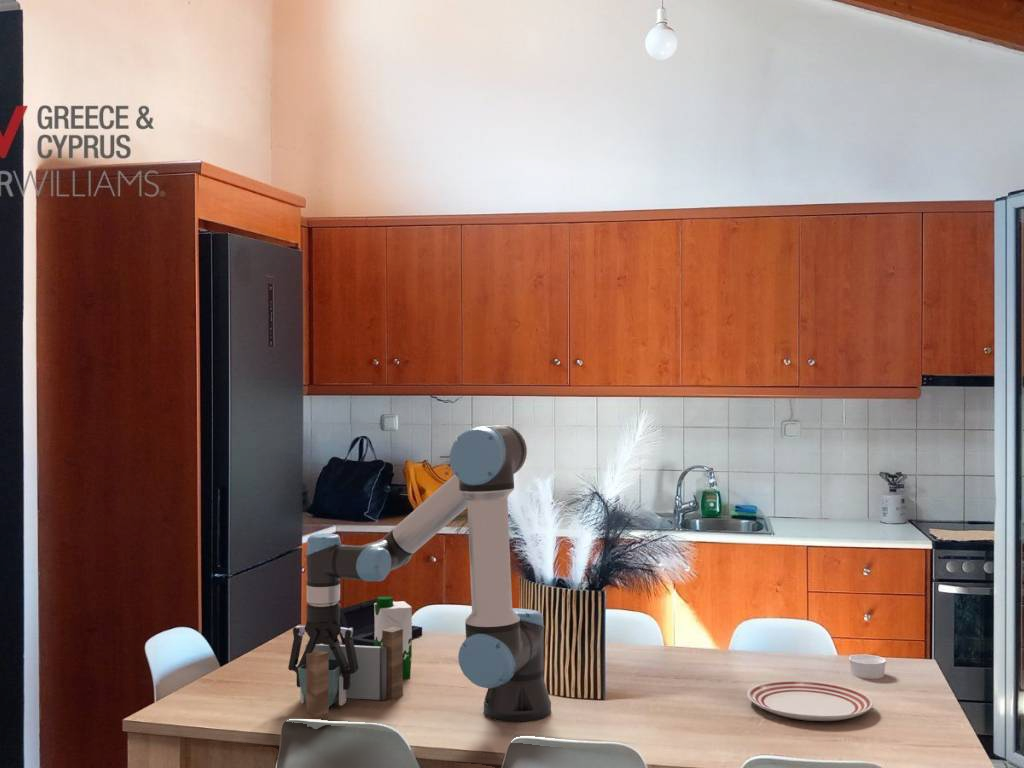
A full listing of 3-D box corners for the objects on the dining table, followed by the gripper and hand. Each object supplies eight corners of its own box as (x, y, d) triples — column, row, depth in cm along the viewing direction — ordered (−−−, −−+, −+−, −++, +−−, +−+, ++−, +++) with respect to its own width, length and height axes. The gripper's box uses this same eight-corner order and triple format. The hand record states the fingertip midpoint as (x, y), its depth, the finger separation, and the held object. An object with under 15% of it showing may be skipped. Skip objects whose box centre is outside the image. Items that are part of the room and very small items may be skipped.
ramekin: (850, 679, 250) (850, 662, 250) (847, 669, 258) (847, 652, 258) (888, 682, 248) (888, 664, 248) (883, 672, 256) (883, 655, 256)
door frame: (402, 696, 235) (402, 628, 235) (316, 731, 212) (316, 656, 212) (392, 694, 237) (393, 627, 237) (306, 728, 214) (306, 653, 214)
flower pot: (334, 710, 222) (334, 670, 222) (297, 708, 223) (297, 668, 223) (348, 698, 230) (348, 659, 230) (312, 696, 232) (312, 657, 232)
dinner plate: (723, 698, 235) (723, 684, 235) (820, 686, 245) (820, 672, 245) (795, 738, 210) (795, 722, 210) (900, 722, 219) (900, 707, 219)
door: (389, 696, 234) (389, 644, 234) (385, 700, 231) (385, 648, 231) (310, 691, 237) (310, 641, 237) (305, 695, 234) (305, 644, 234)
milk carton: (371, 673, 254) (371, 594, 254) (405, 669, 257) (405, 591, 257) (379, 683, 246) (379, 601, 246) (415, 679, 249) (415, 599, 249)
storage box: (376, 652, 275) (376, 615, 274) (332, 643, 283) (332, 608, 283) (422, 635, 292) (422, 601, 292) (379, 628, 301) (379, 595, 301)
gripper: (373, 600, 229) (373, 699, 229) (285, 597, 232) (285, 694, 232) (363, 608, 221) (363, 710, 221) (272, 604, 225) (272, 705, 225)
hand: (323, 702), depth 227 cm, fingers closed on flower pot, 8 cm apart
